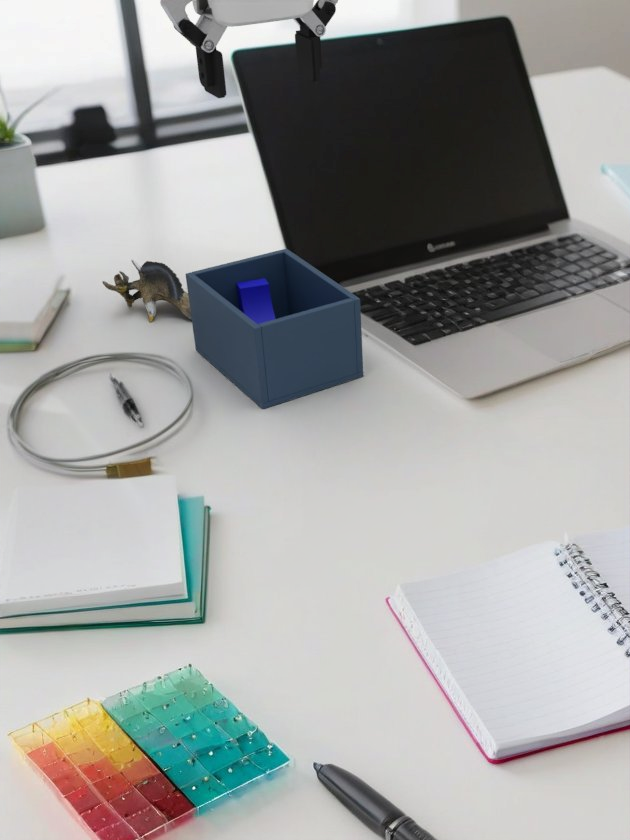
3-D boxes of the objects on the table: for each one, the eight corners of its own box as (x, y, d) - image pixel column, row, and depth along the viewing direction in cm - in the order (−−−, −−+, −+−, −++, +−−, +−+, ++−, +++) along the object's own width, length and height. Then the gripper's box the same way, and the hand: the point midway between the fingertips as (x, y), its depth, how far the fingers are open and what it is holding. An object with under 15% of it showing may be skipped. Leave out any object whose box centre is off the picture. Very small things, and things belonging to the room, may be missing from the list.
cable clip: (319, 379, 115) (315, 325, 111) (274, 388, 113) (269, 333, 109) (283, 328, 123) (279, 276, 120) (242, 335, 121) (236, 282, 118)
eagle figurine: (103, 320, 122) (183, 313, 120) (99, 252, 122) (178, 244, 120) (139, 328, 129) (214, 322, 128) (135, 264, 129) (210, 257, 127)
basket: (262, 409, 111) (254, 328, 106) (195, 350, 120) (184, 273, 115) (363, 376, 117) (360, 298, 112) (292, 322, 126) (286, 248, 121)
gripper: (312, -134, 104) (323, 63, 114) (128, -124, 95) (157, 90, 105) (357, -123, 99) (364, 82, 109) (167, -111, 90) (194, 111, 100)
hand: (263, 86), depth 107 cm, fingers open, 9 cm apart
